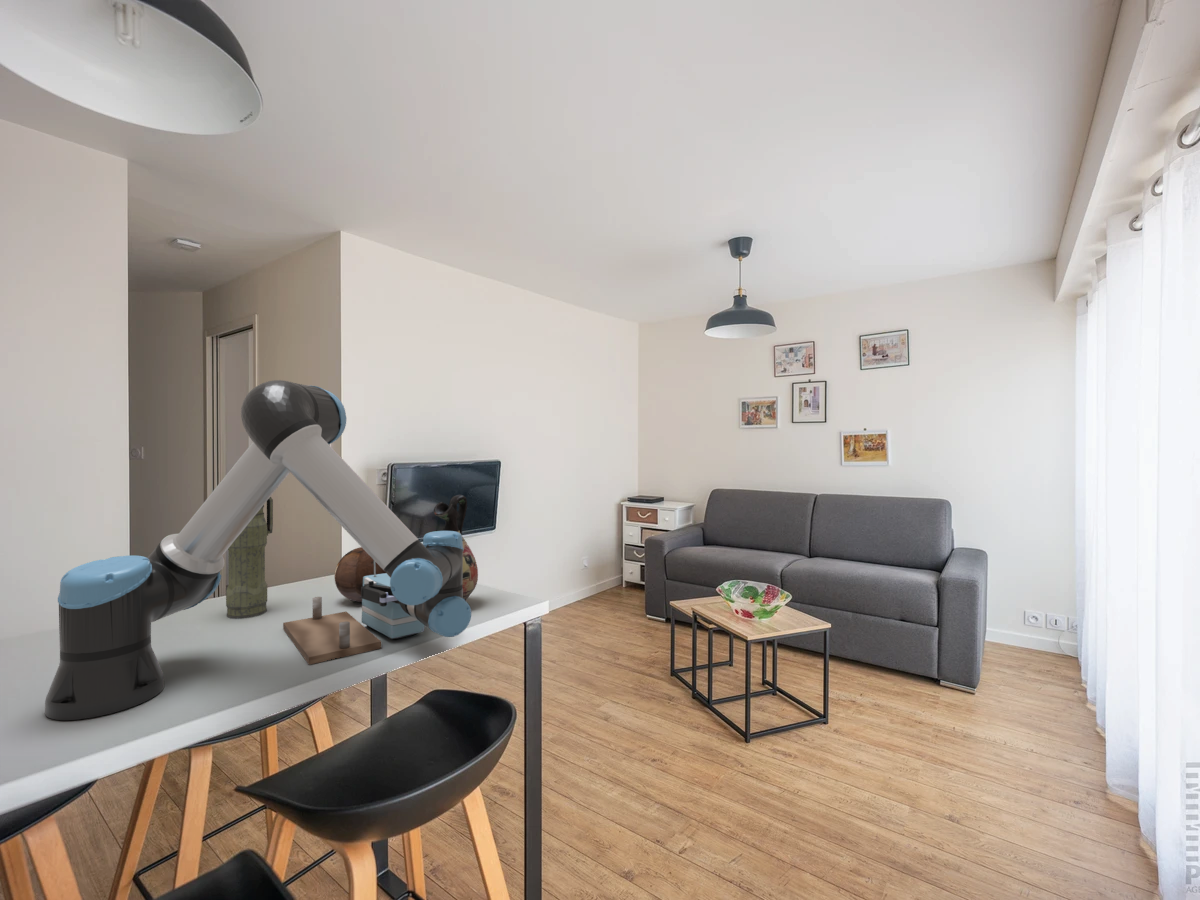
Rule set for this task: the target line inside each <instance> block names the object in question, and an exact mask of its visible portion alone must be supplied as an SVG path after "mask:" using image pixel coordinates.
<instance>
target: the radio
mask: <svg viewBox="0 0 1200 900" xmlns="http://www.w3.org/2000/svg"><path fill="white" fill-rule="evenodd" d="M367 577H368V578H370V579H371V580H373V581H374V582H376V583H377V585H382V586H389V587H390V579H391V578H390V577H389V576H388V574H387V573H384V574H376V564H375V561H374V575H369V576H364V577H363V586H364V578H367ZM361 624H364V625H366V627H367V628H371V629H373V630H375V631H377V633H378V632H379V633H381V634H382V635H384V636H386V637H388V639H390V640H397V639H401V638H407V637H410V636H414V635H417V634H419V633H422V632H424V631H425V625H424V624H423V623H421V622H420V621H418V620H417V619H415V618H414V617H412V616H410V615H409V614H407V613H406V612H404V610H403V609H402V608H401V606H400V604H398V603H394V602H392V601H391V602H388V604H387V605H386V606H384V607H383V606H380V605H379V604H377V603H374V602H371V601H368V600H365V599H362V602H361Z"/></svg>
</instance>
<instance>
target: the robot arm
mask: <svg viewBox="0 0 1200 900" xmlns="http://www.w3.org/2000/svg"><path fill="white" fill-rule="evenodd" d="M240 410H241V411H240V418H241V422H242V426H243V429H244V430H245V432H246V434H247V435H248V437H249V438H250V440H251V441H252V442H251V444H250V445H249V446H248V447H247V448H246V450H245V451H244V452H243V453H242V455H241V456H240V457H239V458H238V460H237V461H236V462H235V464H234V465H233V466H232V468H230V470H229V471H228V472H227V473H226V474H225V476H224V477H223V478H222V480H221V481H220V482H219V483H218V484H217V486H216V487H215V488H214V489H213V491H212V492H211V493H210V494H209V496H208V497H206V499H205V500H204V502H203V503H202V504H201V506H200V507H199V508H198V509H197V511H195V513H194V514H193V515H192V516H191V518H190V519H189V520H188V522H187V523H186V524H185V525H184V526H183V528H182V529H181V530H180V531H179V533H171V534H169V535H167V536H165V537H164V538H163V539H161V541H160V542H159V543H158V545H157V546H156V547H155V548H154V549H153V551H152V552H151V553H149V555H148V556H147V557H146V556H143V555H142V556H141V555H120V556H112V557H109V558H105V559H97V560H93V561H89V562H87V563H83V564H80V565H78V566H75V567H73V568H71V569H70V570H68V571H67V572H65V574H64V575H63V576H62V577H61V579H60V583H59V594H58V595H57V596H58V597H57V603H58V620H59V621H58V623H59V625H58V628H59V629H58V630H59V631H58V632H59V663H58V667H57V670H56V672H55V675H54V677H53V679H52V682H51V685H50V686H49V689H48V691H47V694H46V696H45V700H44V715H45V716H46V717H47V718H49V719H51V720H57V721H73V720H74V721H75V720H76V721H77V720H84V719H91V718H96V717H101V716H105V715H110V714H115V713H117V712H121V711H125V710H127V709H131V708H133V707H135V706H138V705H140V704H143V703H144V702H147V701H149V700H151V699H152V698H155V696H157V695H159V694H160V693H161V692H163V690H164V688H165V673H164V671H163V669H162V667H161V665H160V663H159V661H158V658H157V656H156V653H155V651H154V649H153V647H152V623H153V622H156V621H159V620H161V619H164V618H166V617H168V616H170V615H171V616H172V615H174V614H177V613H178V612H181V611H186V610H188V609H191V608H193V607H196V606H197V605H198V604H201V603H203V602H204V601H206V600H207V599H208V598H210V597H211V596H212V595H213V594H214V593H215V592H216V590H217V589H218V587H219V586H220V582H221V580H222V574H221V571H223V569H224V567H225V563H226V562H225V558H224V554H225V553H226V552H227V551H229V550H228V548H229V547H230V546H231V545H232V543H233V542H234V541H235V540H236V538H237V537H238V536H239V535H240V533H241V532H242V531H243V530H244V529H245V527H246V526H247V525H248V524H249V522H250V521H251V520H252V519H253V517H254V516H255V515H256V514H257V512H258V511H259V510H260V509H261V507H262V506H263V505H264V506H265V504H267V500H268V499H269V498H270V497H271V496H272V495H274V493H275V492H276V490H277V489H278V488H279V487H280V485H281V484H282V483H283V482H284V481H285V479H286V478H287V477H288V476H289V475H290V473H291V474H292V475H293V477H295V479H296V480H297V481H299V483H300V484H301V485H302V486H303V487H304V488H305V490H307V491H308V493H310V494H311V496H313V498H314V499H315V500H317V502H318V503H319V504H320V505H321V506H322V507H323V508H324V510H326V511H327V512H328V514H330V515H331V517H332V518H333V519H334V520H335V521H336V522H337V523H338V524H339V525H340V527H342V528H343V529H344V530H345V532H347V533H348V534H349V535H350V537H351V538H352V539H353V540H354V541H356V543H357V544H358V545H359V547H362V548H363V549H364V550H365V551H366V552H367V553H368V554H369V555H370V556H371V557H372V558H373V560H374V561H375V562H376V563H377V564H378V565H379V566H380V567H381V568H382V569H383V570H384V571H385V572H386V573H387V574H388V576H389V577H390V578H391V579H390V587H389V586H382V585H377V583H376V582H374V581H373V580H371V579H370V578H368V577H367V578H364V586H362V587H361V598H362V599H365V600H368V601H371V602H374V603H377V604H379V605H380V606H383V607H384V606H386V605H387V604H388V602H391V601H392V602H394V603H398V604H400V606H401V608H402V609H403V610H404V612H406V613H407V614H409V615H410V616H412V617H414V618H415V619H417V620H418V621H420V622H421V623H423V624H424V627H427V628H428V629H430V631H431V632H433V633H435V634H437V635H440V636H442V637H445V638H450V637H451V638H453V637H456V636H459V635H460V634H462V633H463V632H464V631H465V630H466V629H467V628H468V626H469V625H470V623H471V620H472V609H471V606H470V605H469V603H468V602H467V600H466V601H465V599H463V584H462V581H463V551H464V549H463V542H462V537H463V535H461V534H460V533H459V532H456V531H442V530H437V531H430V532H427V533H425V534H424V535H423V537H422V540H423V541H420V540H419V538H418V537H417V536H416V535H415V534H414V533H413V532H412V530H410V529H409V528H408V526H406V524H404V522H402V520H401V519H400V518H399V517H398V516H397V514H395V513H394V512H393V511H392V510H391V508H389V506H387V505H386V503H384V501H383V500H382V499H381V498H380V497H379V496H378V495H377V494H376V493H375V491H374V490H372V488H370V486H369V485H368V484H367V483H366V482H365V481H364V480H363V479H362V478H361V477H360V476H359V475H358V474H357V472H356V471H355V470H353V468H352V467H351V466H350V465H348V463H347V462H346V461H345V460H344V459H343V458H342V457H341V456H340V454H339V453H338V452H336V450H335V449H334V448H333V447H332V446H331V444H333V443H334V442H336V441H337V440H338V439H339V438H341V436H342V435H343V433H344V431H345V429H346V426H347V415H346V409H345V406H344V404H343V403H342V401H341V400H340V399H339V397H338V396H336V394H334V393H332V392H331V391H329V390H326V389H324V388H322V387H319V386H317V385H308V384H302V383H297V382H292V381H289V380H283V379H282V380H281V379H275V380H269V381H265V382H262V383H260V384H258V385H256V386H255V387H254V388H252V389H251V390H250V391H249V392H248V393H247V394H246V396H245V397H244V400H243V401H242V405H241V409H240Z"/></svg>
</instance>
